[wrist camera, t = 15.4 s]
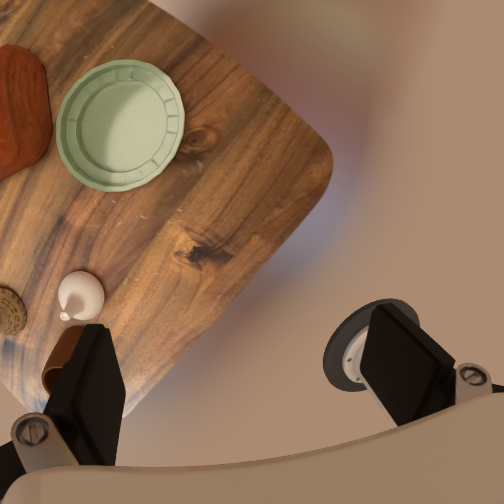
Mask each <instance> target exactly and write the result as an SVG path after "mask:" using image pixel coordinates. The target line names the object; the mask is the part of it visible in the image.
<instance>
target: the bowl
mask: <svg viewBox="0 0 504 504" xmlns="http://www.w3.org/2000/svg"><path fill="white" fill-rule="evenodd" d="M185 118H186V116H185V111H184V107H183V103H182V99H181V96H180V92H179V91H178V89H177V88H176V86H175V85H174V83H173V82H172V80H171V79H170V77H169V76H168V75H166V74H165V73H164V72H162V71H161V70H159V69H158V68H157V67H155V66H154V65H152V64H149V63H145V62H142V61H138V60H134V59H125V60H113V61H110V62H107V63H104V64H102V65H99V66H97V67H94V68H92V69H91V70H90V71H88V72H87V73H86V74H85V75H83V76H82V77H81V78H80V79H78V80H77V81H76V82H75V83H74V85H73V86H72V88H71V89H70V90H69V92H68V93H67V95H66V96H65V97H64V99H63V102H62V104H61V107H60V110H59V113H58V116H57V121H56V142H57V146H58V150H59V154H60V157H61V159H62V161H63V163H64V164H65V166H66V167H67V169H68V170H69V172H70V173H71V174H72V175H73V176H74V177H75V178H77V179H78V180H79V181H81V182H82V183H83V184H84V185H86V186H88V187H91V188H94V189H97V190H100V191H103V192H124V191H128V190H131V189H134V188H137V187H140V186H143V185H145V184H146V183H148V182H149V181H150V180H152V179H153V178H154V177H156V176H157V175H159V174H160V173H161V172H163V171H164V170H165V169H166V167H167V166H168V165H169V163H170V162H171V161H172V160H173V158H174V157H175V156H176V155H177V153H178V150H179V147H180V145H181V142H182V140H183V137H184V132H185Z"/></svg>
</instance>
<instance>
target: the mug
mask: <svg viewBox="0 0 504 504" xmlns="http://www.w3.org/2000/svg"><path fill="white" fill-rule="evenodd" d="M84 328H85V327H81V326H76V327H71V328H68V329H67V330H66V331H65V332H63V334H62V335H61V337H60V339H59V340H58V342H57V344H56V346H55V347H54V349H53V351H52V353H51V355H50V357H49V359H48V360H47V363H46V365H45V367H44V370H43V373H42V383H43V386H44V388H45V390H46V391H47V393H48V394H49V395H51V392H52V390H53V388H54V385H55V383H56V381H57V378H58V376H59V374H60V372H61V370H62V367H63V365H64V364H65V362H66V361H69V359H70V357H71V355H72V353H73V351H74V349H75V346H76V344H77V342H78V340H79V338H80V336H81V334H82V332H83V330H84Z"/></svg>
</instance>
